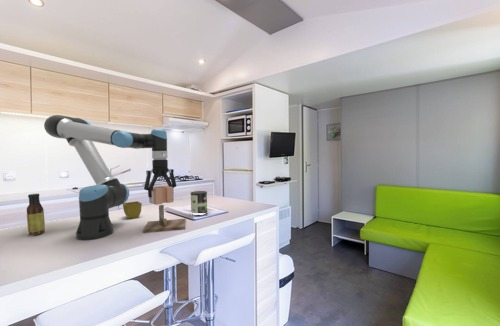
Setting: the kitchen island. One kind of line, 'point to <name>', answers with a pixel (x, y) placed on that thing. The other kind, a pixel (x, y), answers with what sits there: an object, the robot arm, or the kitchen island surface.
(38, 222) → the sauce bottle
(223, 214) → the kitchen island surface
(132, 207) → the flower pot
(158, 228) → the base
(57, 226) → the kitchen island surface
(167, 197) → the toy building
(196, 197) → the coffee can
